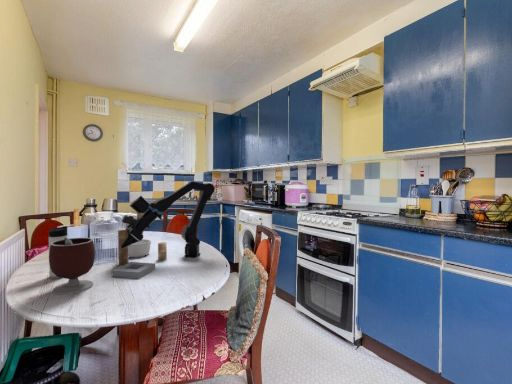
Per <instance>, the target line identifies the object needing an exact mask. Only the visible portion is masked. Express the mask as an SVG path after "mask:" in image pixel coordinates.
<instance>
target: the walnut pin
mask: <svg viewBox="0 0 512 384" xmlns="http://www.w3.org/2000/svg"><path fill="white" fill-rule="evenodd" d="M127 237H128V230H126V229H119V230H117V239H118V240H117V241H118V247H117V248H118V250H117V251H118V252H117V253H118V266H119V267H121V266H123V265H125V264H127V263H129V257H128V246H127V247H124V248H121V245H122V244H123V243H124V241H125V240H126V239H127Z"/></svg>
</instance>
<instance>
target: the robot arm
mask: <svg viewBox="0 0 512 384" xmlns="http://www.w3.org/2000/svg"><path fill="white" fill-rule="evenodd" d="M215 189H216V187H215V186H214V184H213V183H210V182H209V183H208V182H207V183H206V182H205V183H204V182H203V183H200V182H197V181H191V180H190V181H189V182H187V183H185V184H184V185H183V186H181V187H179V189H176V190H175V191H174V192H171V194H169V195H167V196H163V197H160V198H159V199H156V200H155V201H153V202H148V201H147V200H146V199H145V198H144V197H143V196H142V195H140V196H138V197H137V198H136V199H134V200H133V201H132V202H130V204H129V207H130V208H131V209H133V210H134V211H135V212H136V213H137V214H142V215H141V216H140V217H137V218H135V217H134V216H133V215H127V214H124V216H123V217H122V219H121V223H123V224H127V225H126V226H125V230H128V237H127V239H126V240H125V241H124V243H123V244H122V245H121V248H124V247H127V246H129V245H131V244H134V243H136V242H139V241H141V240H142V239H144V231H146V229H148V228H150V226H151V225H152V224H153V222H154V221H156V220H157V219H159V220H162V217H163V216H162V215H163V214H162V213H164V212H166V211H167V210H168V209H169V208H171V207H172V205H173V204H174V203H175V202H176V201H177V200H179V199H181V198H183V197H184V196H185V195H186V194H188V193H190V192H191V191H193V190H196V191H199V192H198V193H199V194H198V195H199V197H198V200H197V202H196V204H195V206H194V207H195V208H194V210H193V213H192V215H191V217H190V220H189V221H188V224H187V225H185V224H184V225H183V226H182V227H183V228H182V230H181V231H180V232H181V234H180V235H181V238H182V240H184V242H185V246H184V256H183V257H187V258H189V257H190V258H197V257H198V256H200V255H201V252H200V243H201V240H200V239H199V238H197V232H198V225H199V223H200V220H201V217H202V214H203V212H204V210H205V207H206V204H207V202H208V201H209V200H210V198H211V197H212V195H213V194H214V193H215V191H216V190H215ZM152 209H153V210H152ZM157 211H158V212H157ZM159 212H161V213H159Z"/></svg>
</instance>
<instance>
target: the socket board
mask: <svg viewBox="0 0 512 384" xmlns="http://www.w3.org/2000/svg"><path fill="white" fill-rule="evenodd" d="M154 270H156V263H152V262H140V261H139V262H138V261H130V262H129V261H128V263H127V264H125V265H123V266H119V267H116V268H114V269H112V270H111V271H112V272H111V275H112V276H111V277H114V278H115V277H116V278H128V279H140V278H143V277H144V276H146V275H147V274H149V273H151V272H154Z"/></svg>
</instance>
